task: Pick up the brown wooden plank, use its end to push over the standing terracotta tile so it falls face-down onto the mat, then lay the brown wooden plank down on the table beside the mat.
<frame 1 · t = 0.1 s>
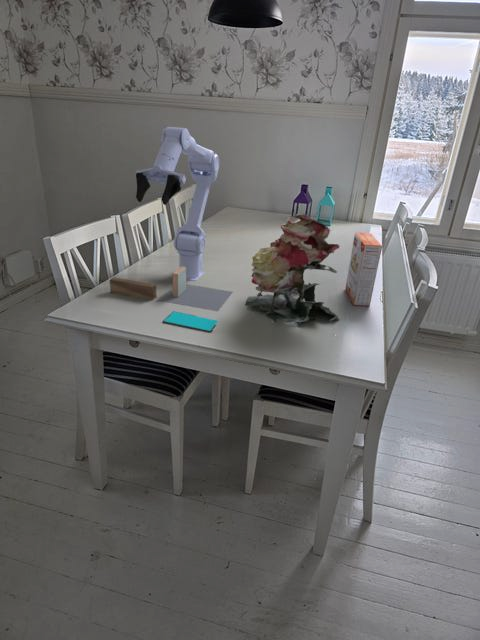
hand: (150, 201, 115), 32 cm above the table, tool tilted 50°, fingers open, 7 cm apart
cracker box: (356, 298, 145), on the table
mat: (196, 297, 138), on the table
tile: (179, 293, 139), resting on mat
smartphone: (191, 324, 123), on the table
brown wooden plank: (133, 296, 136), on the table
rose bouquet: (285, 309, 134), on the table
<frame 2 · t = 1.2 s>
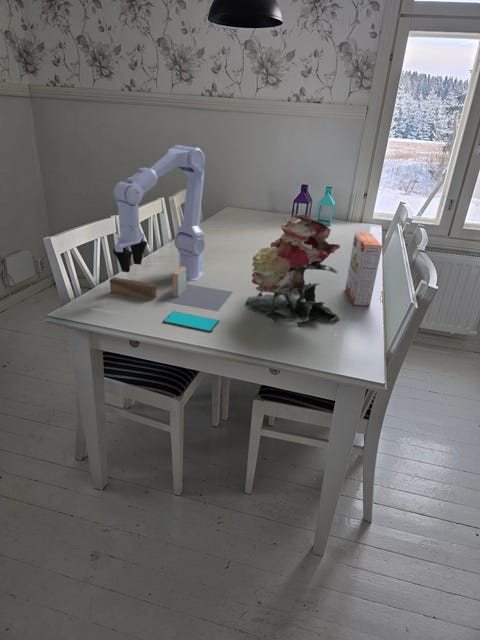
hand: (131, 267, 132), 10 cm above the table, tool pointing down, fingers open, 7 cm apart
nothing on the table moved.
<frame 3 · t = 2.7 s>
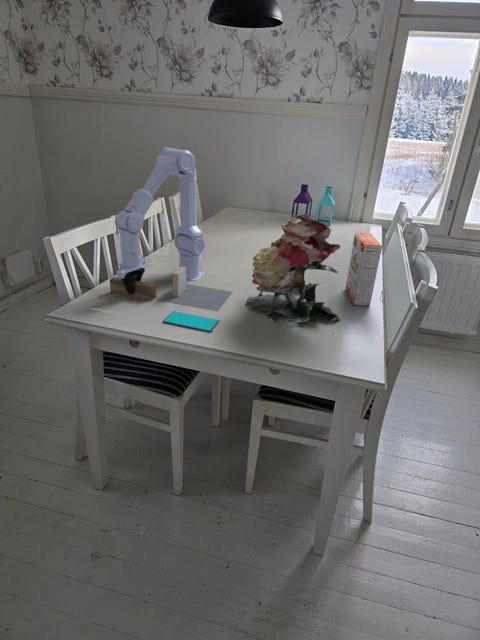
hand: (133, 291, 136), 1 cm above the table, tool pointing down, fingers closed on brown wooden plank, 2 cm apart
brown wooden plank: (133, 296, 136), on the table, touching gripper
everything else where it was.
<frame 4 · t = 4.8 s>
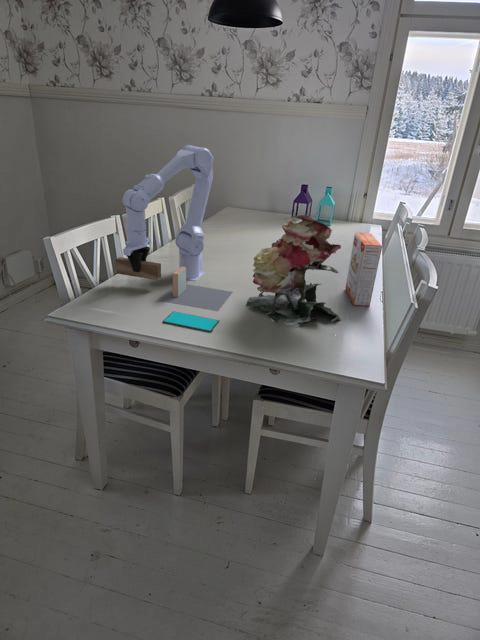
hand: (138, 270, 140), 6 cm above the table, tool pointing down, fingers closed on brown wooden plank, 2 cm apart
brown wooden plank: (138, 275, 141), point 4 cm above the table, touching gripper
everything else where it was.
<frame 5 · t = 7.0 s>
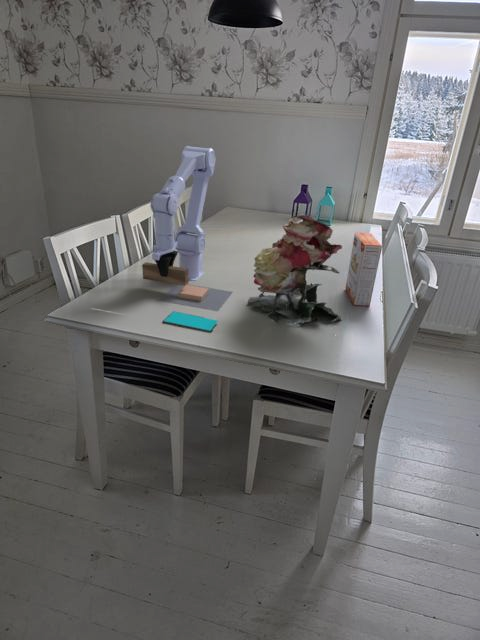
hand: (165, 274, 138), 6 cm above the table, tool pointing down, fingers closed on brown wooden plank, 2 cm apart
tile: (182, 290, 139), point 1 cm above the table, tilted 90°, touching mat
brown wooden plank: (165, 281, 139), point 4 cm above the table, touching gripper
everything else where it was.
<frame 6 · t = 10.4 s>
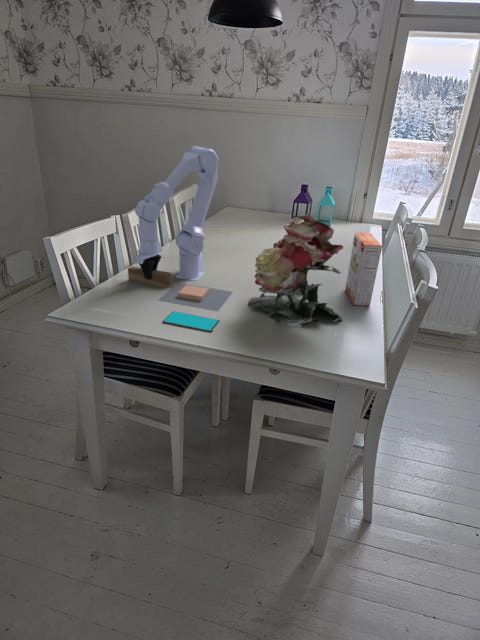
hand: (150, 277, 145), 2 cm above the table, tool pointing down, fingers closed on brown wooden plank, 2 cm apart
brown wooden plank: (150, 284, 146), on the table, touching gripper
when the fingers open (2 cm above the table, at t = 10.5 s): brown wooden plank stays where it is, on the table.
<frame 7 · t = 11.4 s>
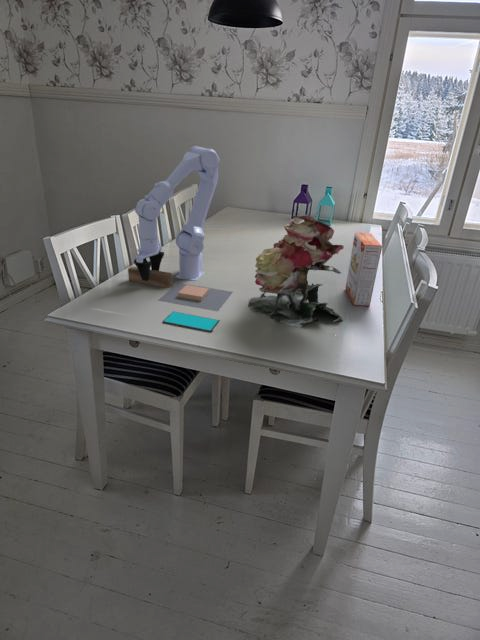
hand: (150, 276, 144), 3 cm above the table, tool pointing down, fingers open, 7 cm apart
brown wooden plank: (150, 284, 146), on the table
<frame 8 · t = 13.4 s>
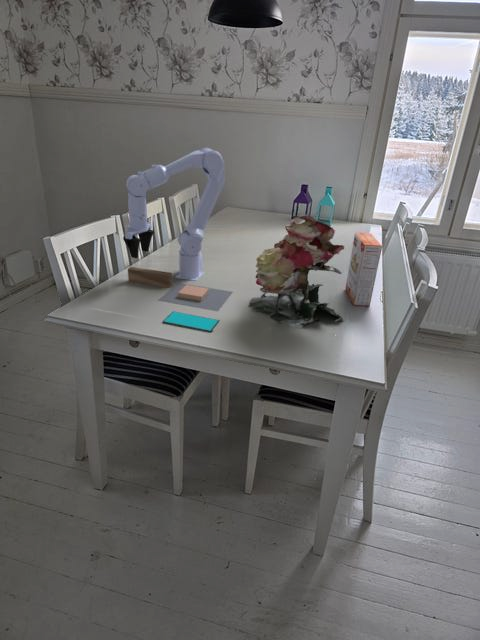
hand: (140, 254, 144), 9 cm above the table, tool pointing down, fingers open, 7 cm apart
at the end: tile tilted 90°; tile inside the target area on the mat (0.5 cm from its centre), point 1.3 cm above the mat's base; brown wooden plank touching table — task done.
